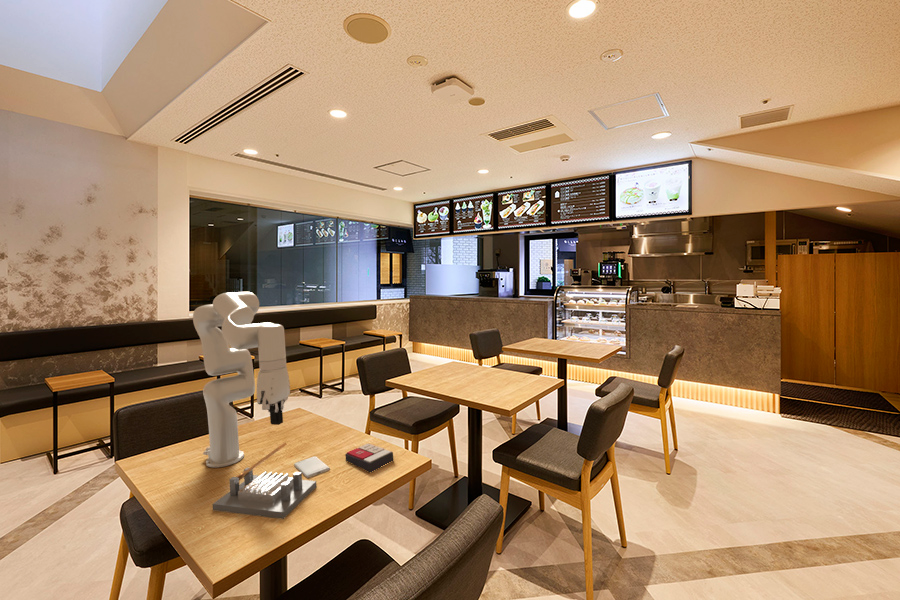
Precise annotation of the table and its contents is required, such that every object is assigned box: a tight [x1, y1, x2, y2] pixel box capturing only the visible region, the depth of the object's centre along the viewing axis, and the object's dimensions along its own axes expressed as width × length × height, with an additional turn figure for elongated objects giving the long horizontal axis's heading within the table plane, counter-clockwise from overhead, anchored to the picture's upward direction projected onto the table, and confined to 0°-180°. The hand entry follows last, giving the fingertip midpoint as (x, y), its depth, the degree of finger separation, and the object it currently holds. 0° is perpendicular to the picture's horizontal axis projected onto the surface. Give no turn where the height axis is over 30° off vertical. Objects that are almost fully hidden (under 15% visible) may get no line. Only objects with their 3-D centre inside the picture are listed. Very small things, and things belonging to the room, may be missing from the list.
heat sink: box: [228, 466, 303, 503], centre depth 120 cm, size 20×10×5 cm, turn 77°
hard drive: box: [293, 455, 331, 479], centre depth 139 cm, size 2×8×12 cm
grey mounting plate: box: [212, 474, 318, 520], centre depth 120 cm, size 24×17×2 cm
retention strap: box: [235, 442, 288, 481], centre depth 120 cm, size 20×4×2 cm
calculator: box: [344, 443, 394, 473], centre depth 143 cm, size 11×4×15 cm
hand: (276, 423), depth 118 cm, fingers closed
